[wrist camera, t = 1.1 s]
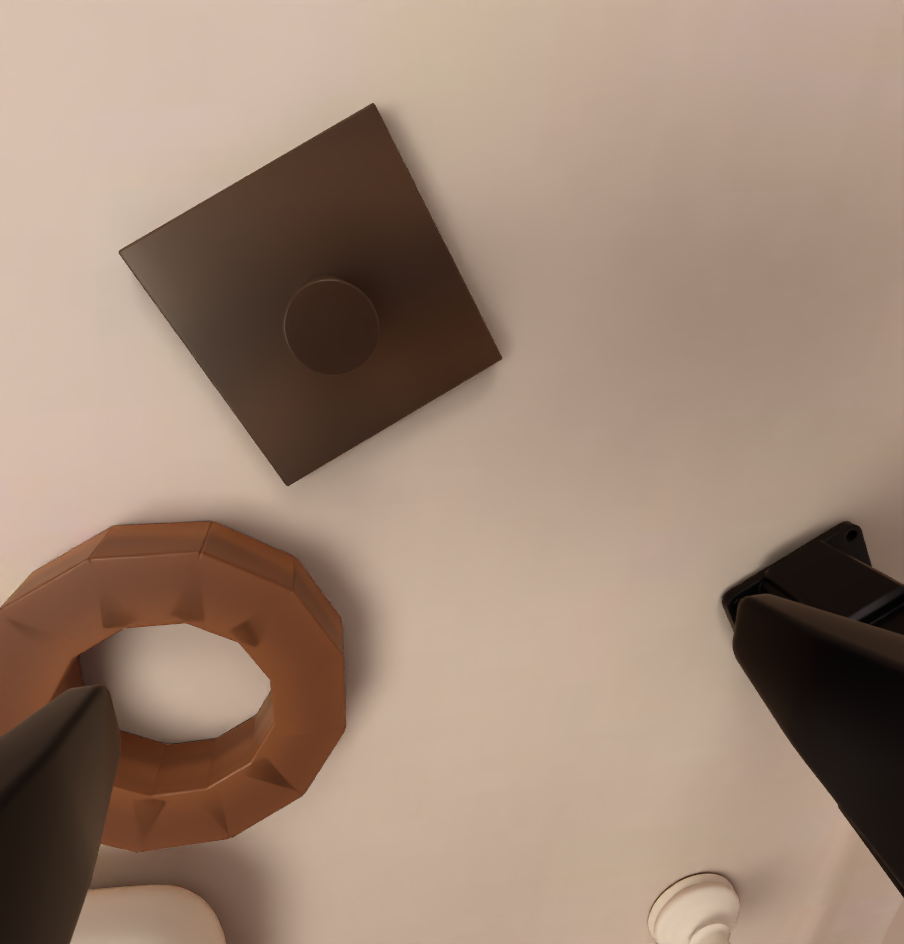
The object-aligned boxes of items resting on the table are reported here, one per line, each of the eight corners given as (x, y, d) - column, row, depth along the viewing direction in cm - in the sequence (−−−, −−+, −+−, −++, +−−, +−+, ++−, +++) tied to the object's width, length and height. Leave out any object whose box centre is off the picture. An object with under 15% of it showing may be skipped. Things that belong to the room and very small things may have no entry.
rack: (495, 354, 20) (569, 392, 14) (288, 477, 20) (277, 567, 14) (371, 110, 17) (400, 29, 11) (127, 252, 17) (26, 245, 11)
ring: (34, 813, 22) (3, 874, 20) (-33, 531, 19) (-79, 567, 17) (345, 771, 25) (348, 821, 22) (338, 514, 21) (341, 543, 19)
